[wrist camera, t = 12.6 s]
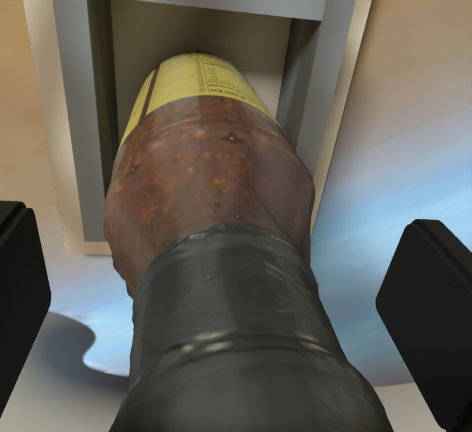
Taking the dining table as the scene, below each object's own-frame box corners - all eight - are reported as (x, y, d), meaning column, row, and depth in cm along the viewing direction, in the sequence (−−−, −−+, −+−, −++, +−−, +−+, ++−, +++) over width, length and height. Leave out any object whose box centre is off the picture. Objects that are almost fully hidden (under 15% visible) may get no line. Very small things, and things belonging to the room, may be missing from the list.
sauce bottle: (188, 175, 24) (181, 654, 7) (116, 92, 21) (-200, 597, 4) (276, 114, 22) (539, 541, 5) (213, 14, 19) (375, 301, 2)
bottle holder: (390, -126, 18) (478, -169, 13) (300, 245, 30) (325, 307, 24) (4, -193, 16) (-95, -282, 10) (71, 240, 27) (42, 308, 22)
